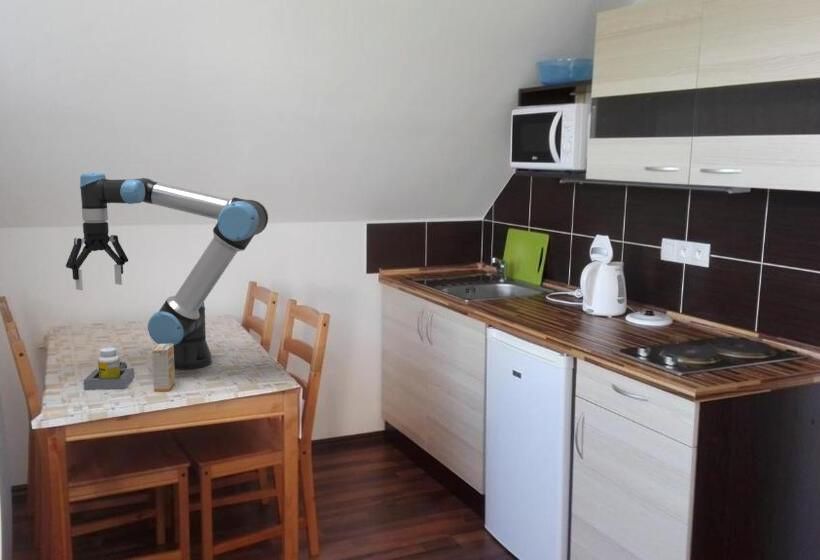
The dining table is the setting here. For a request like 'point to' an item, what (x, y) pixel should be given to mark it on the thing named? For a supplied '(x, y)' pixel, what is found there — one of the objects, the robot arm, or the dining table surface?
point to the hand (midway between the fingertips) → (99, 287)
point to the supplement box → (163, 367)
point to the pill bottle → (109, 363)
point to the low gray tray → (109, 379)
